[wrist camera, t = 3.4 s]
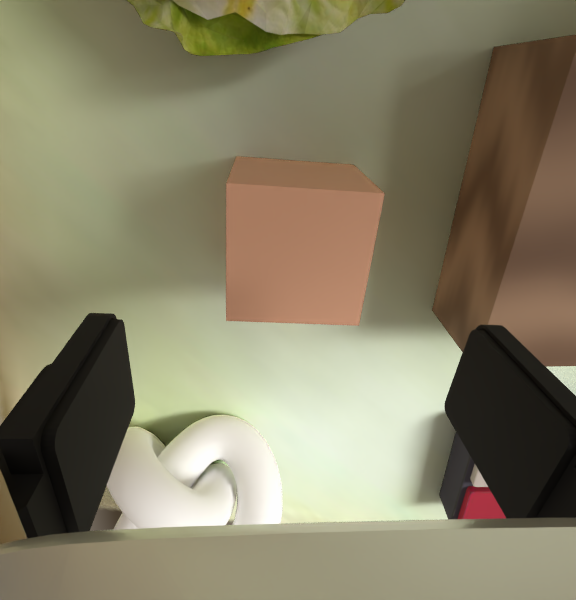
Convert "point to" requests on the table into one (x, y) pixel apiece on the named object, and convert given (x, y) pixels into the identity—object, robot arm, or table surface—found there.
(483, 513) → the calculator
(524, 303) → the walnut block
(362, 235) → the terracotta cube
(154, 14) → the food
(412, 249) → the table surface
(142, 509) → the white knot
